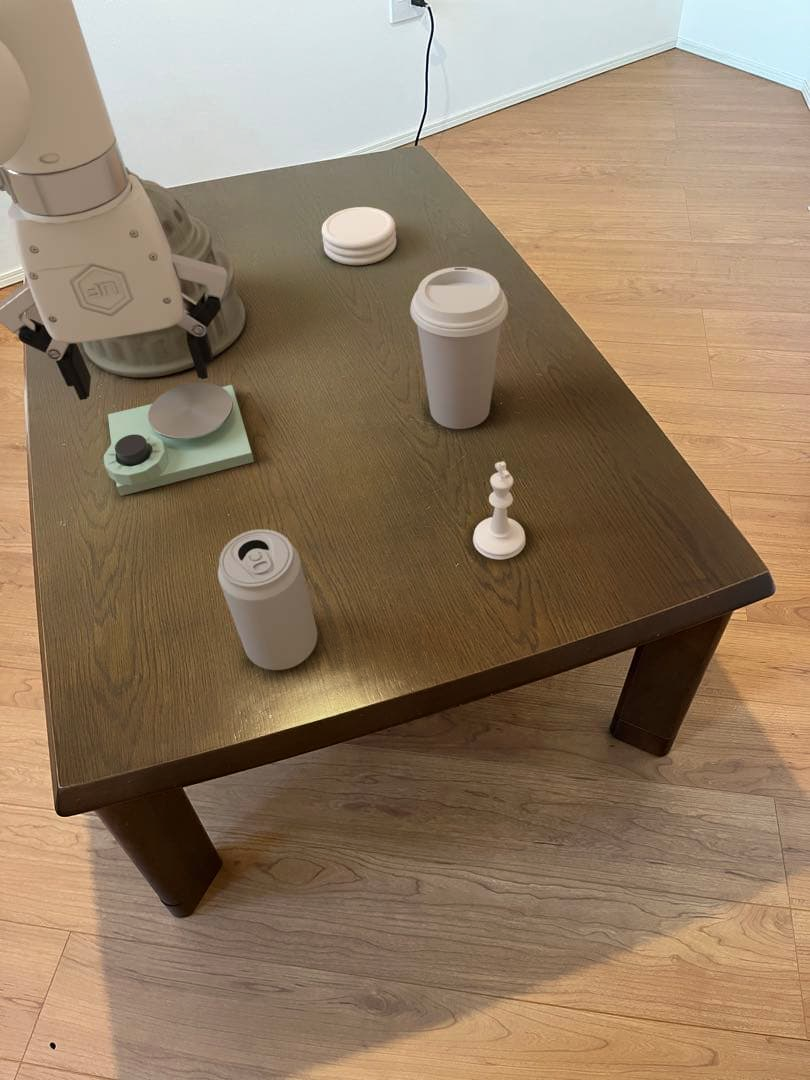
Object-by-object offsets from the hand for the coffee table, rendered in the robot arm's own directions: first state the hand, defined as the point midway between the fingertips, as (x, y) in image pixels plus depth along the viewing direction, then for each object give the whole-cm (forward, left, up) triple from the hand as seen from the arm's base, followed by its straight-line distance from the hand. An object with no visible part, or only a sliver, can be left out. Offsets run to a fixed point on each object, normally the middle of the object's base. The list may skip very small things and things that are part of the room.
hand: (144, 378), depth 69 cm
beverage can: (+5, -17, -18) cm, 25 cm away
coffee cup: (+30, +7, -18) cm, 36 cm away
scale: (0, +13, -18) cm, 22 cm away
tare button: (-5, +9, -15) cm, 18 cm away
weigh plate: (+2, +14, -15) cm, 20 cm away
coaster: (+29, +44, -18) cm, 55 cm away
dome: (+1, +35, -18) cm, 39 cm away
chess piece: (+27, -12, -18) cm, 35 cm away
